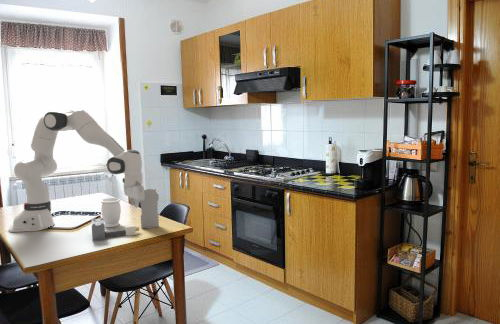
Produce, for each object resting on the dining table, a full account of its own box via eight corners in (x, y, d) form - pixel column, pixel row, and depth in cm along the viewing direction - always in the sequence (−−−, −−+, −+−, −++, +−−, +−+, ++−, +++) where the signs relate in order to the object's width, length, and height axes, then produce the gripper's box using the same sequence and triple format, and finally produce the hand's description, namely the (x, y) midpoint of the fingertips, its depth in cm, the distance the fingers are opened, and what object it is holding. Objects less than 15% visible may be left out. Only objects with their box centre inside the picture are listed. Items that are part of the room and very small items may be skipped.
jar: (101, 224, 226) (100, 198, 224) (120, 222, 230) (119, 197, 228) (102, 228, 216) (101, 202, 215) (122, 226, 220) (121, 200, 219)
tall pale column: (141, 229, 215) (139, 190, 213) (139, 227, 219) (138, 189, 216) (160, 227, 220) (159, 188, 217) (158, 225, 223) (157, 187, 221)
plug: (101, 239, 199) (101, 230, 198) (100, 236, 203) (100, 228, 202) (139, 234, 207) (139, 225, 207) (138, 231, 211) (137, 223, 211)
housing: (92, 241, 195) (91, 224, 194) (92, 234, 207) (91, 218, 206) (105, 239, 197) (104, 223, 196) (104, 232, 209) (104, 217, 208)
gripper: (147, 182, 199) (148, 208, 201) (132, 177, 215) (133, 202, 217) (135, 183, 195) (136, 210, 197) (121, 178, 211) (122, 203, 213)
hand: (134, 206), depth 207 cm, fingers open, 4 cm apart
